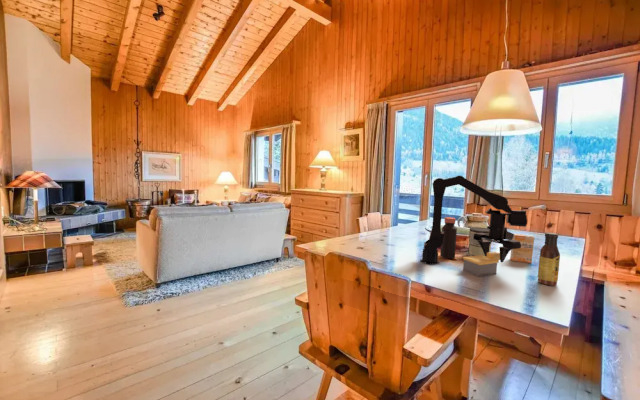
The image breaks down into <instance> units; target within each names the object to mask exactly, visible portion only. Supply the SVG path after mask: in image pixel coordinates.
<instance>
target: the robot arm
mask: <svg viewBox="0 0 640 400" xmlns="http://www.w3.org/2000/svg"><path fill="white" fill-rule="evenodd" d="M457 185H458V186H461V187H463V188H464V189H466V190H468V191H470V192H471V193H473V194H475V195H476V196H479V197H480V198H481V199H483V200H484V201H485V202H487V204H488V205H490V206H491V207H493V208H494V209H495V210H494V209H492V208H491V207H489V208H488V210H485V212H484V213H486V214H487V215H490V216H489V225H488V226H487V227H486V228H487V229H489V234H485V233H475V234H474V236H473V239H474V240H479V241H477V242H479V244H480V246H481V248H482V250H483V252H484V254H485V256H486V257H487V253H488V252H489V247H490V244H491V245H492V243H496V244H499V245H500V244H501V245H502V246H499V253H500V260H499V262H500V263H503V262H505V259H506V258H507V256H508V254H509V253H510V252H511V249H518V248H521V243H520V242H519V241H515V240H512V239H513V236H514V234H515V233H514V234H513V232H510V231H508V227H506V224H509V226H510V227H523V228H525V227H527V225H528V217H527V211H526V210H523V209H522V210H521V209H520V210H514V209H512V208H511V207H510V206H509V201H508V199H507V197H504V196H502V195H499V194H496V193H493V192H492V191H488V190H487V189H484V188H483V187H481V186H479V185H478V184H476V183H474V182H472V181H471V180H468V179H467V178H465V177H464V176H463V175H457V176H453V177H449V178H448V177H447V178H441V177H437V178H436V179H434V180H433V182H432V190H433V198H434V199H433V213H432V227H431V230H430V234H429V236H428V237H429V238H428V239H427V240H426V241H424V244H423V248H422V257H421V259H419V261H420V262H422V263H424V264H427V265H430V266H431V265H436V264H437V265H438V264H440V262H439V259H438V258H439V251H438V249H439V248H441V245H442V242H443V243H444V239H443V237H444V231H443V232H442V226H441V225H442V213H443V212H442V211H443V199H444V195H445V192H446V188H449V187H455V186H457ZM501 210H502V211H504V212H501Z"/></svg>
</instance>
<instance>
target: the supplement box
mask: <svg viewBox="0 0 640 400" xmlns="http://www.w3.org/2000/svg"><path fill="white" fill-rule="evenodd" d="M512 234H514V236H513V239H512V240H515V241H519V242H520V243H521V248H518V249H511V250H510V257H509V259H510V260H511V261H512V262H517V263H518V262H519V263H529V264H532V263H533V262H532V261H533V256H534V244H535V243H534V242H535V236H534V235H532V234H522V233H521V234H519V233H513V232H512Z"/></svg>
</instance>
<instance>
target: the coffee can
mask: <svg viewBox="0 0 640 400" xmlns="http://www.w3.org/2000/svg"><path fill="white" fill-rule="evenodd" d="M475 233H485V234H489V229H487V227H476V226H475V227H474V226H473V227H469V237H468V250H467V256H477V255H483V256H485V254H484V252H483V250H482V248H481V246H480V244H479V242H477V241H479V240H474V239H473V236H474V234H475ZM491 247H492V243H491V244H490V247H489V252H491V250H492V249H491Z"/></svg>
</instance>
